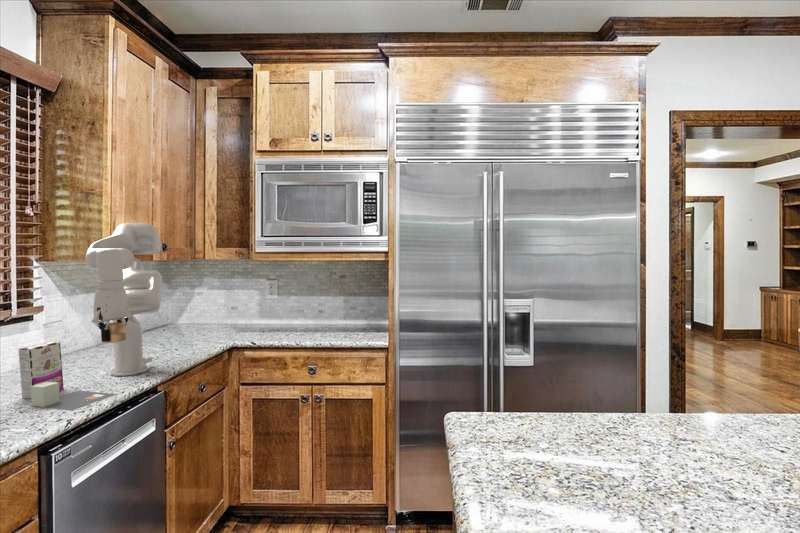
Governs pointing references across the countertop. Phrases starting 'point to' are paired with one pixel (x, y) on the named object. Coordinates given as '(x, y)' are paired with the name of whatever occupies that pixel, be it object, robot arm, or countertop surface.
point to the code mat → (77, 400)
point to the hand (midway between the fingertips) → (113, 339)
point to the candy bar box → (40, 366)
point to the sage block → (45, 394)
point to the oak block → (116, 332)
